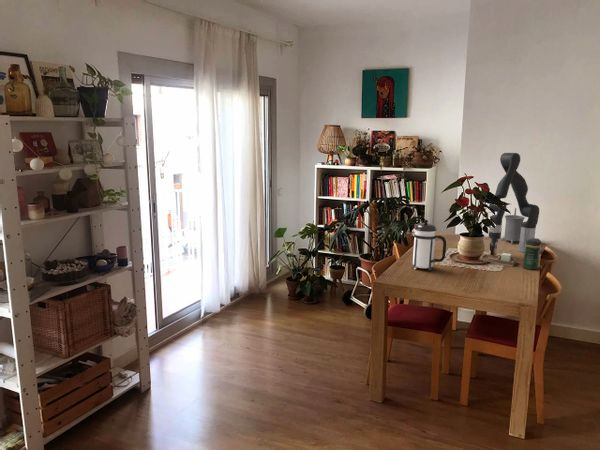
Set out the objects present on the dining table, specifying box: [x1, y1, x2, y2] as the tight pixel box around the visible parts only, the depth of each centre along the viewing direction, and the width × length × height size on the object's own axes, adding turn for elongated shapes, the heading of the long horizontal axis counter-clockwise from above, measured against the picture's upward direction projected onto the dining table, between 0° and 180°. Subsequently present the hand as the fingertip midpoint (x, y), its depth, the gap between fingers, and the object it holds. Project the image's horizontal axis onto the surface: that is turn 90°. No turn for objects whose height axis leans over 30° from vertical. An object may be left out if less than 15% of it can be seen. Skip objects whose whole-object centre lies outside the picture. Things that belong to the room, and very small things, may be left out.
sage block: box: [500, 252, 512, 262], centre depth 306 cm, size 5×5×5 cm
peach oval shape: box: [489, 247, 498, 256], centre depth 321 cm, size 5×5×6 cm
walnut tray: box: [479, 253, 517, 268], centre depth 309 cm, size 11×20×3 cm, turn 57°
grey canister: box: [501, 207, 526, 245], centre depth 362 cm, size 19×15×25 cm
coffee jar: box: [522, 237, 542, 271], centre depth 295 cm, size 10×8×19 cm
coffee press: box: [411, 219, 447, 272], centre depth 289 cm, size 17×16×30 cm
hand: (492, 255), depth 322 cm, fingers closed on peach oval shape, 4 cm apart
